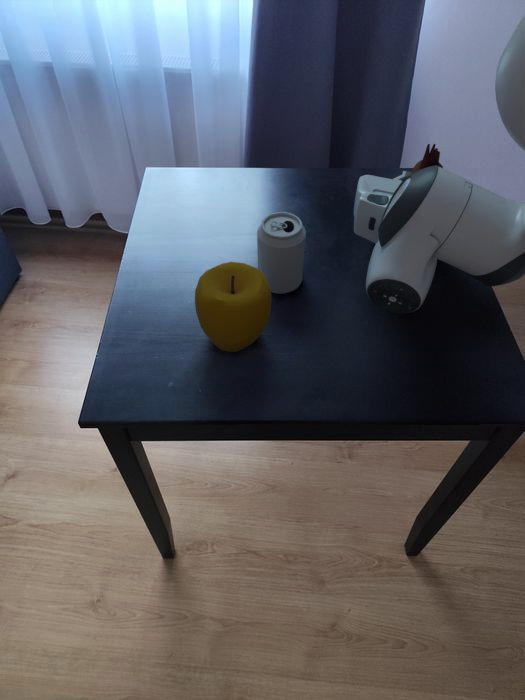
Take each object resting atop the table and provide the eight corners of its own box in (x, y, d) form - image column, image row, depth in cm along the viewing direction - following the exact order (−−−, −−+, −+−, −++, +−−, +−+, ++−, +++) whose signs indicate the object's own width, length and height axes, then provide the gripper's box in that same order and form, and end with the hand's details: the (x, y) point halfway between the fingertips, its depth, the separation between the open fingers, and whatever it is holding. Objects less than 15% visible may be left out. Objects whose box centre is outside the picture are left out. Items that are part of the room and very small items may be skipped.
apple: (250, 377, 69) (247, 317, 59) (186, 351, 72) (173, 290, 62) (282, 326, 75) (285, 264, 65) (222, 304, 78) (216, 241, 68)
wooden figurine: (402, 235, 82) (425, 153, 70) (388, 215, 86) (408, 134, 74) (438, 228, 83) (466, 146, 72) (422, 209, 87) (447, 128, 75)
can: (302, 297, 79) (307, 239, 69) (257, 296, 79) (256, 238, 69) (301, 266, 83) (305, 208, 74) (258, 266, 84) (257, 207, 74)
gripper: (493, 224, 66) (499, 173, 74) (349, 195, 70) (369, 150, 78) (477, 259, 71) (484, 208, 79) (343, 230, 75) (362, 184, 83)
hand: (425, 178), depth 79 cm, fingers closed on wooden figurine, 5 cm apart
